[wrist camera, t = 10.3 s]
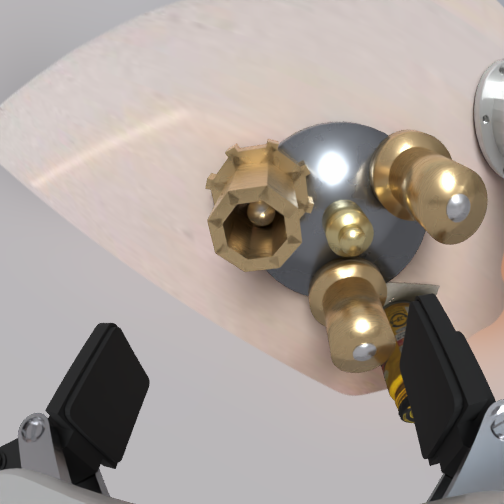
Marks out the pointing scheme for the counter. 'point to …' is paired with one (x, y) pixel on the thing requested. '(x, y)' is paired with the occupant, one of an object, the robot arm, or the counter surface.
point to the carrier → (369, 226)
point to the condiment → (400, 339)
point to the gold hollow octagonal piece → (252, 190)
